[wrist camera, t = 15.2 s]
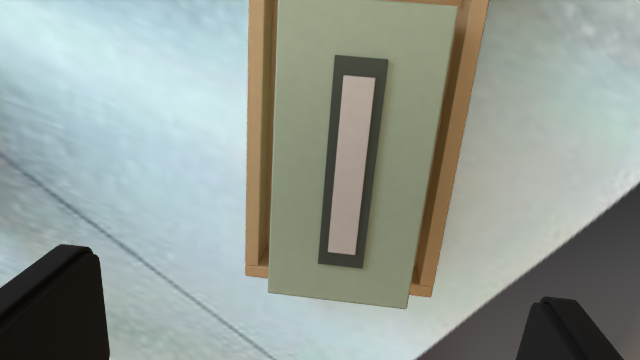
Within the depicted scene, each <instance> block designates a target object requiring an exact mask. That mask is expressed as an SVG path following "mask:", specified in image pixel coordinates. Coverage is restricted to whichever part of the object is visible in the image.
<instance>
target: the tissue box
mask: <svg viewBox="0 0 640 360" xmlns="http://www.w3.org/2000/svg"><path fill="white" fill-rule="evenodd" d="M457 15H458V7H457V6H449V5H435V4H422V3H409V2H395V1H382V0H278V17H277V46H276V75H275V103H274V132H273V160H272V189H271V217H270V246H269V274H268V292H269V293H275V294H283V295H292V296H300V297H308V298H317V299H325V300H334V301H342V302H350V303H359V304H367V305H375V306H384V307H392V308H400V309H406V308H407V304H408V298H409V292H410V287H411V281H412V275H413V269H414V263H415V258H416V252H417V246H418V240H419V235H420V229H421V223H422V217H423V211H424V206H425V200H426V194H427V188H428V182H429V177H430V171H431V165H432V159H433V153H434V148H435V142H436V136H437V130H438V125H439V119H440V113H441V107H442V101H443V96H444V90H445V84H446V78H447V72H448V67H449V61H450V55H451V49H452V43H453V38H454V32H455V26H456V20H457Z"/></svg>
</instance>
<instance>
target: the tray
mask: <svg viewBox="0 0 640 360" xmlns="http://www.w3.org/2000/svg"><path fill="white" fill-rule="evenodd" d="M382 1H395V2H409V3H422V4H435V5H449V6H457V7H458V15H457V20H456V26H455V32H454V38H453V43H452V49H451V55H450V61H449V67H448V72H447V78H446V84H445V90H444V96H443V101H442V107H441V113H440V119H439V125H438V130H437V136H436V142H435V148H434V153H433V159H432V165H431V171H430V177H429V182H428V188H427V194H426V200H425V206H424V211H423V217H422V223H421V229H420V235H419V240H418V246H417V252H416V258H415V263H414V269H413V275H412V281H411V287H410V292H409V295H414V296H423V297H431V295H432V290H433V286H434V281H435V275H436V270H437V265H438V260H439V255H440V250H441V245H442V240H443V234H444V229H445V224H446V219H447V214H448V209H449V204H450V199H451V193H452V188H453V183H454V178H455V173H456V168H457V163H458V158H459V152H460V147H461V142H462V137H463V132H464V127H465V122H466V117H467V111H468V106H469V101H470V96H471V91H472V86H473V81H474V76H475V70H476V65H477V60H478V55H479V50H480V45H481V40H482V35H483V29H484V24H485V19H486V14H487V9H488V4H489V0H382ZM277 17H278V0H249V26H248V102H247V178H246V255H245V263H246V265H245V275H246V276H253V277H261V278H268V274H269V246H270V217H271V189H272V160H273V132H274V103H275V75H276V46H277Z"/></svg>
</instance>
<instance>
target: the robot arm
mask: <svg viewBox="0 0 640 360" xmlns="http://www.w3.org/2000/svg"><path fill="white" fill-rule="evenodd" d="M109 357H110V349H109V340H108V331H107V322H106V313H105V304H104V295H103V286H102V277H101V268H100V260H99V257H98V256H97V255H95V254H93V252H92V250H91V249H90V248H89V247H84V246H75V245H65V244H61V245H59V246H57V247H55V248H54V249H53V250H51V251H50V252H48V253H47V254H46V255H44V256H43V257H42V258H40V259H39V260H38V261H36V262H35V263H34V264H32V265H31V266H29V267H28V268H27V269H25V270H24V271H23V272H21V273H20V274H19V275H17V276H16V277H15V278H13V279H12V280H11V281H9V282H8V283H6V284H5V285H4V286H2V287H1V288H0V360H109ZM516 360H624V359H623V358H622V357H621V356H620V355H619V353H618V352H617V351H616V350H615V348H614V347H613V346H612V344H611V343H610V342H609V341H608V339H607V338H606V337H605V336H604V334H603V333H602V332H601V331H600V330H599V328H598V327H597V326H596V324H595V323H594V322H593V321H592V319H591V318H590V317H589V316H588V315H587V313H586V312H585V311H584V309H583V308H582V307H581V306H580V305H579V303H578V302H577V301H576V300H572V299H564V298H555V297H543V298H542V299H541V301H540V303H534V304H533V305H532V306H531V309H530V312H529V316H528V319H527V323H526V326H525V330H524V333H523V337H522V340H521V343H520V347H519V351H518V354H517V357H516Z"/></svg>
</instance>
